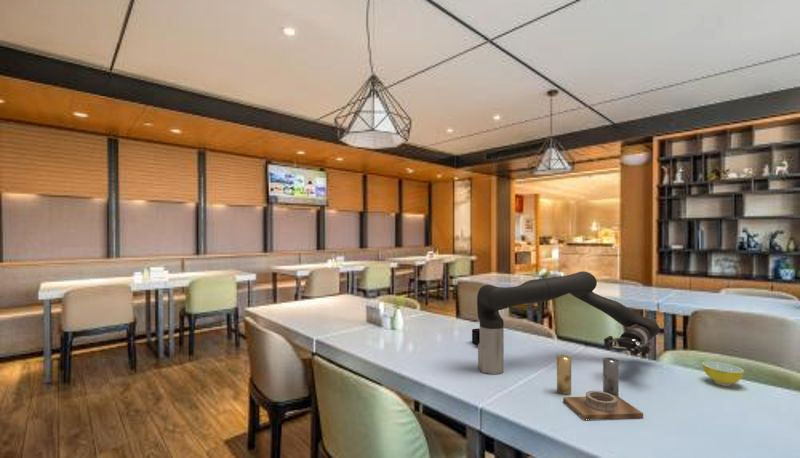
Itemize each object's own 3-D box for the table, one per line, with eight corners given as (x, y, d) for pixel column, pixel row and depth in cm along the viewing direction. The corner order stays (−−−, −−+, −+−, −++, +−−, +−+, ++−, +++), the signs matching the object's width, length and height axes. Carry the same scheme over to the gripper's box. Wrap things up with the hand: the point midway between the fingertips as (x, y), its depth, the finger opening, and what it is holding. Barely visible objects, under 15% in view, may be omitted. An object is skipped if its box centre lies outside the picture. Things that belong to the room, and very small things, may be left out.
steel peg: (608, 399, 123) (608, 362, 124) (600, 393, 128) (600, 357, 128) (621, 398, 124) (621, 362, 124) (612, 393, 128) (612, 357, 128)
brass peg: (561, 395, 126) (561, 359, 126) (554, 389, 131) (554, 355, 131) (573, 395, 127) (573, 359, 127) (566, 389, 131) (566, 354, 131)
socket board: (584, 420, 109) (584, 406, 110) (563, 401, 121) (563, 389, 121) (643, 418, 111) (643, 404, 111) (616, 400, 123) (616, 387, 123)
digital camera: (469, 343, 185) (469, 329, 185) (478, 342, 188) (478, 328, 188) (482, 349, 176) (482, 334, 176) (492, 348, 178) (492, 333, 178)
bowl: (733, 380, 140) (733, 363, 140) (750, 392, 129) (750, 374, 129) (697, 376, 144) (696, 359, 144) (710, 387, 133) (710, 370, 133)
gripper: (613, 326, 150) (599, 334, 139) (655, 332, 140) (644, 342, 129) (613, 345, 150) (599, 355, 139) (656, 353, 140) (645, 364, 129)
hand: (621, 349), depth 134 cm, fingers open, 8 cm apart
